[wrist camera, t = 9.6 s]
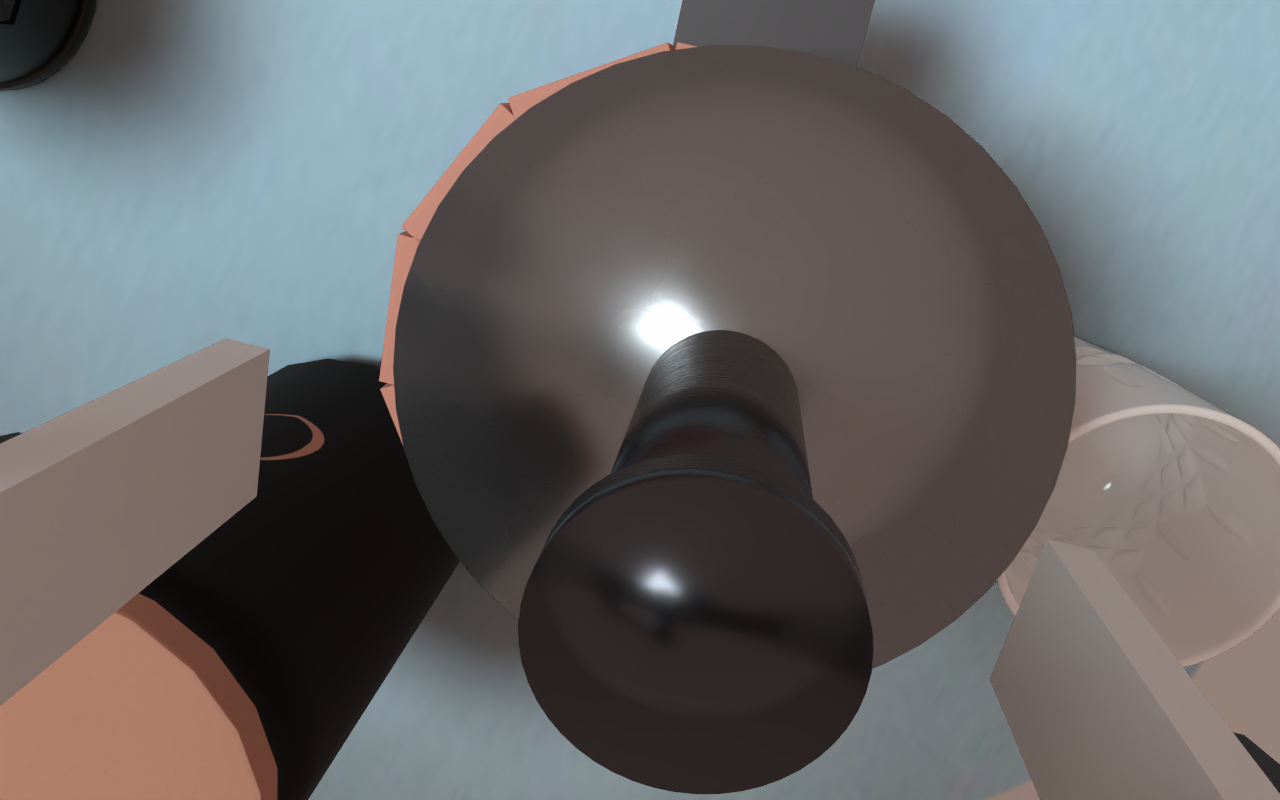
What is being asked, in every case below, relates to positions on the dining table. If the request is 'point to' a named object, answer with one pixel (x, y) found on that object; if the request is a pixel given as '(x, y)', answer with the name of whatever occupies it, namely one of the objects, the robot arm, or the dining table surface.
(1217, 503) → the white cup
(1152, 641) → the robot arm
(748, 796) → the dining table surface
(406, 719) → the dining table surface
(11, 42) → the french press
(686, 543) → the lid
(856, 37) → the pot
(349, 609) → the coffee jar
